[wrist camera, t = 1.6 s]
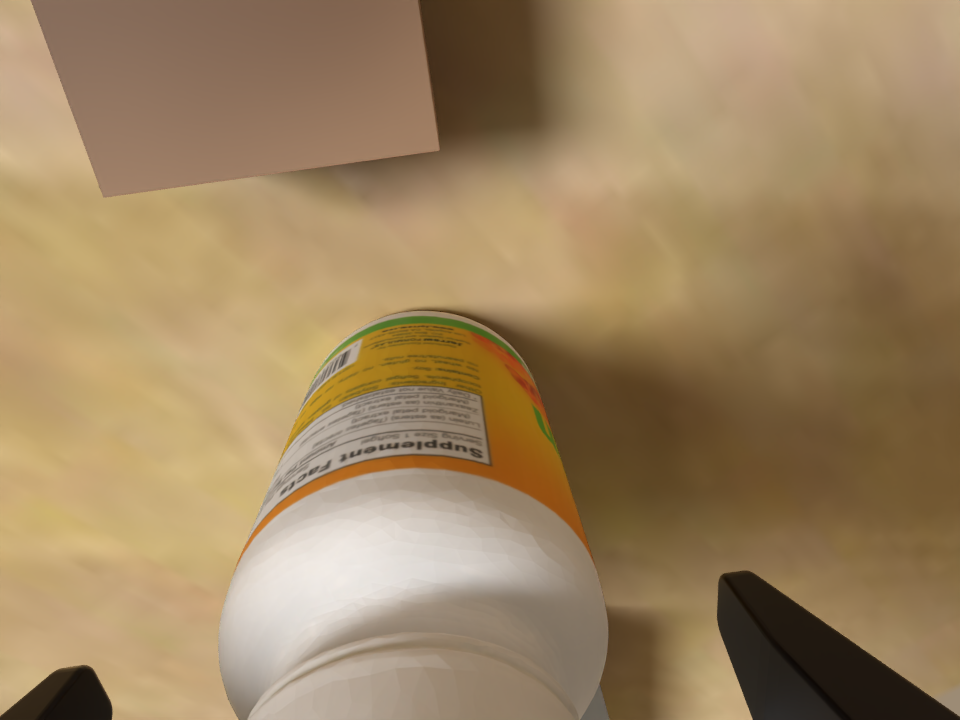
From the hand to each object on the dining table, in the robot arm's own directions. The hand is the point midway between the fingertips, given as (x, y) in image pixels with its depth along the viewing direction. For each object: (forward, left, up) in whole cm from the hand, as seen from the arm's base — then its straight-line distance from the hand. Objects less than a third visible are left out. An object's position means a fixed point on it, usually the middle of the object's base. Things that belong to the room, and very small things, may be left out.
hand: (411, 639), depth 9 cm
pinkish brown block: (+9, +1, -7) cm, 11 cm away
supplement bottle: (0, 0, -7) cm, 7 cm away
